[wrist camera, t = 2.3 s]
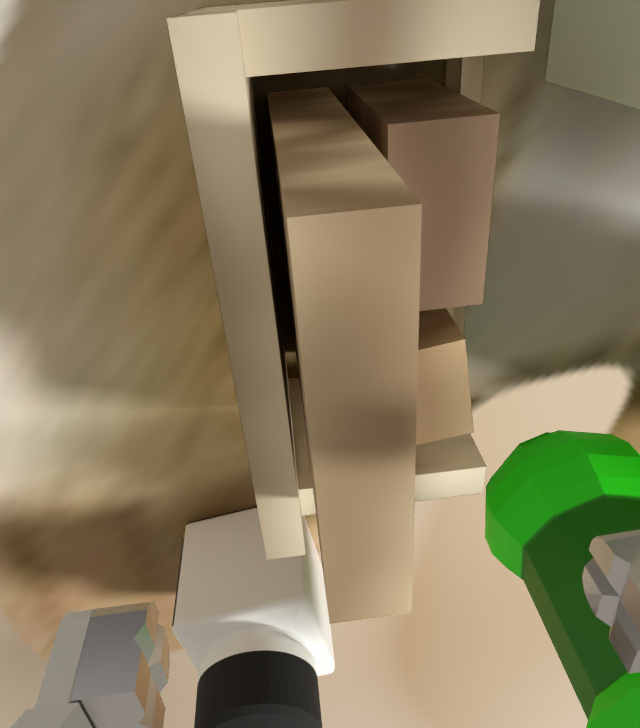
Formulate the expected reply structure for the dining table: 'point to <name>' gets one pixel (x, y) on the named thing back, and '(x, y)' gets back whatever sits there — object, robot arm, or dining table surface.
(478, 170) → the offcut tall
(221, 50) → the box
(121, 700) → the robot arm
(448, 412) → the offcut top
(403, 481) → the light wood flat panel
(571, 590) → the plastic bottle
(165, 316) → the dining table surface
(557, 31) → the stand
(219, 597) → the medicine bottle
